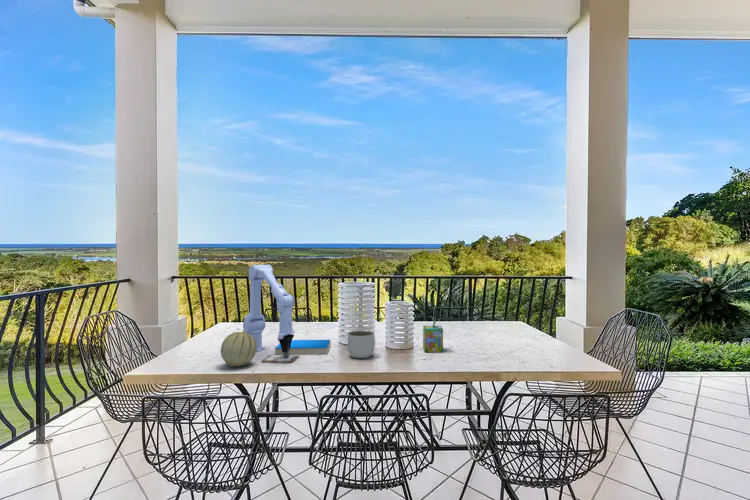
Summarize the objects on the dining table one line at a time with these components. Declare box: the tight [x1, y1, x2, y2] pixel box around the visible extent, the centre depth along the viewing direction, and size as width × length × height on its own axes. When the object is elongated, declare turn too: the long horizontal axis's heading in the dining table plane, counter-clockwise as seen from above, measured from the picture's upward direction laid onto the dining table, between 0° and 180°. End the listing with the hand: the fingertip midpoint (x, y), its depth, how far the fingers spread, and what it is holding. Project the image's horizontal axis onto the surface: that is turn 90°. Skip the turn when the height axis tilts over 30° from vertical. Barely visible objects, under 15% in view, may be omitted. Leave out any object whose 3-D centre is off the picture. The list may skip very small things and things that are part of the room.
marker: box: [283, 344, 290, 358], centre depth 175 cm, size 3×3×8 cm
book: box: [274, 339, 332, 356], centre depth 192 cm, size 17×4×25 cm
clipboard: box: [261, 354, 300, 364], centre depth 175 cm, size 14×10×1 cm
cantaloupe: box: [220, 329, 257, 367], centre depth 166 cm, size 15×15×15 cm
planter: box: [347, 330, 375, 359], centre depth 179 cm, size 12×12×11 cm
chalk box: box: [422, 319, 444, 353], centre depth 189 cm, size 9×9×15 cm
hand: (286, 351), depth 175 cm, fingers closed on marker, 2 cm apart
